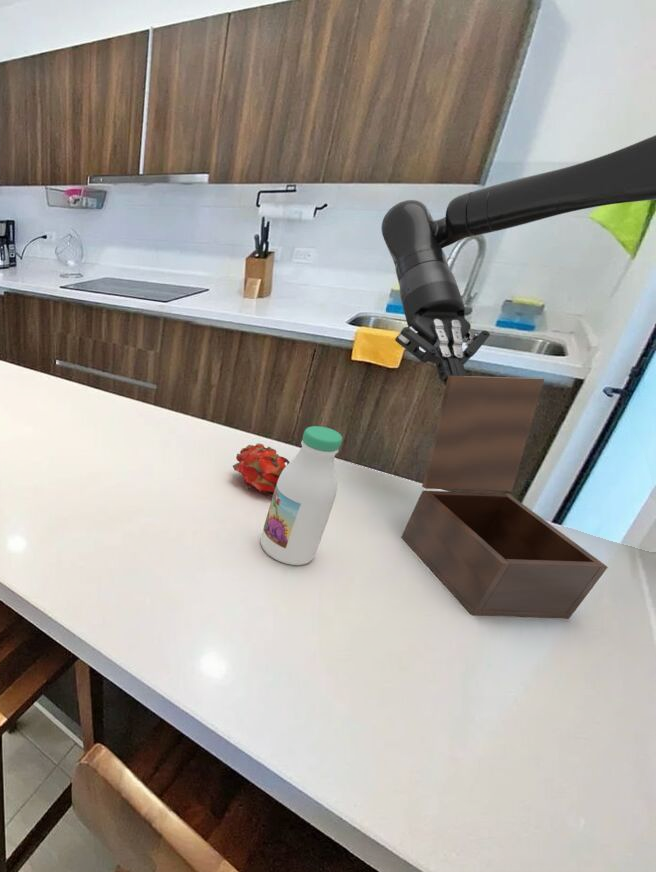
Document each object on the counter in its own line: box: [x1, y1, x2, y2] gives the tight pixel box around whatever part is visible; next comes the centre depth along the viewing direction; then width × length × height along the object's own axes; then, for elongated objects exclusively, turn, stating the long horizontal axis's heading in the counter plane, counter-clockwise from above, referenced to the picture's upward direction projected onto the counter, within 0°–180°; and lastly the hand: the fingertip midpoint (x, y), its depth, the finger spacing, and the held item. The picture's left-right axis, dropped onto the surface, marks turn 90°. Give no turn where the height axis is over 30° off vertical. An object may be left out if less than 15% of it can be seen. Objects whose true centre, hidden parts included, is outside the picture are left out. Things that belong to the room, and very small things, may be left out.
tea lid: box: [421, 375, 545, 492], centre depth 72 cm, size 17×13×1 cm
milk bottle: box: [260, 425, 343, 566], centre depth 71 cm, size 8×8×20 cm
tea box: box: [400, 490, 609, 619], centre depth 70 cm, size 16×13×9 cm
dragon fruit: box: [232, 443, 291, 497], centre depth 89 cm, size 8×8×12 cm
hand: (454, 382), depth 74 cm, fingers closed
